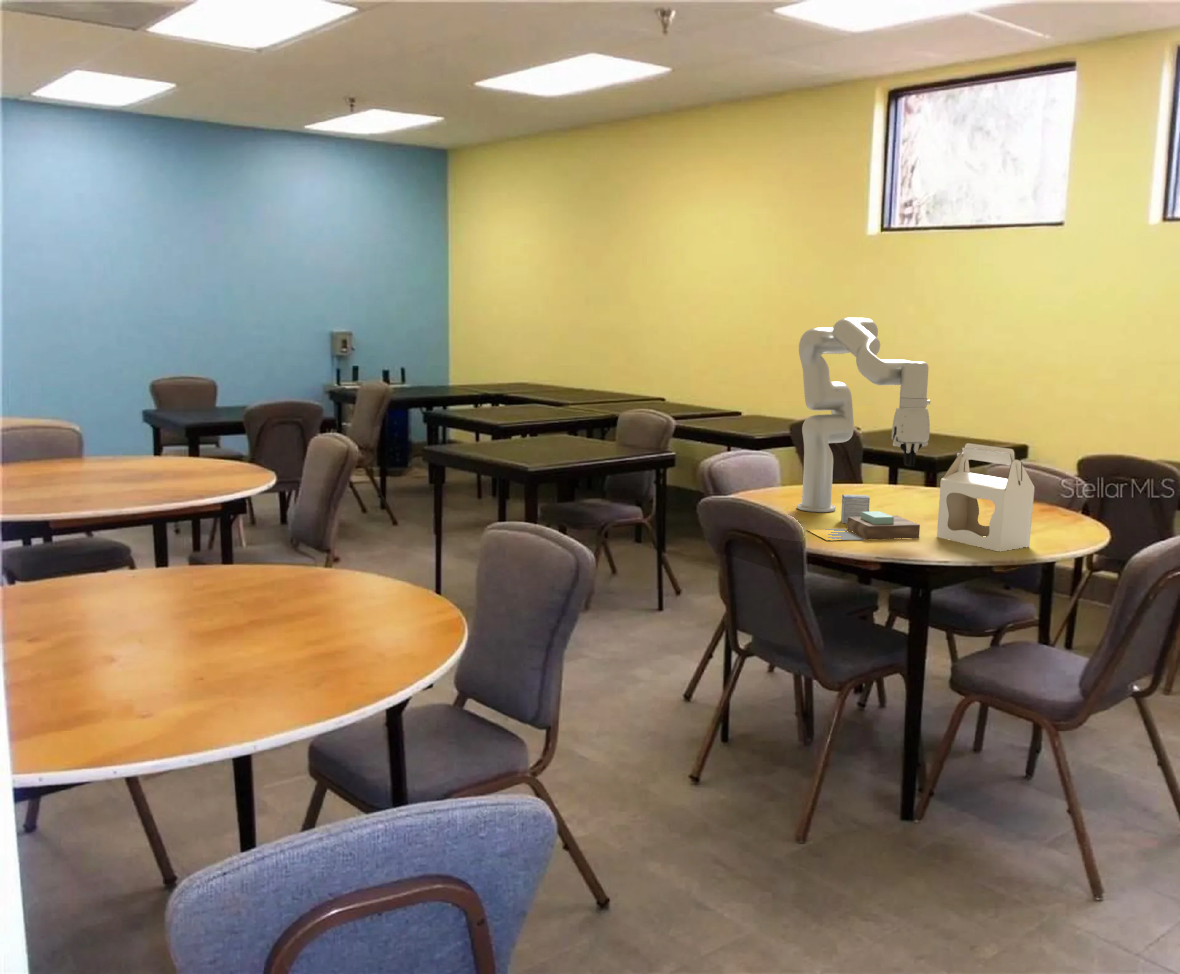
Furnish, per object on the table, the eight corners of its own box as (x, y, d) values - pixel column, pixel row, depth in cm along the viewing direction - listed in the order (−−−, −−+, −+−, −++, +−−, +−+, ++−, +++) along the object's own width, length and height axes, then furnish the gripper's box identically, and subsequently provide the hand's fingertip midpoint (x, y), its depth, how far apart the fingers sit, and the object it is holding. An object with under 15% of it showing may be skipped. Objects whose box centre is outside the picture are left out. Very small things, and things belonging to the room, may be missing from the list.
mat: (806, 530, 308) (806, 529, 308) (843, 529, 310) (843, 528, 310) (826, 541, 294) (826, 540, 293) (865, 540, 296) (865, 539, 296)
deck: (847, 529, 310) (847, 516, 309) (896, 528, 313) (897, 515, 312) (867, 539, 296) (868, 526, 296) (918, 538, 299) (919, 524, 299)
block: (860, 518, 307) (861, 511, 307) (879, 517, 309) (879, 511, 308) (874, 524, 299) (874, 517, 298) (893, 523, 300) (894, 517, 299)
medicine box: (866, 521, 323) (867, 494, 321) (868, 524, 318) (870, 497, 317) (840, 521, 324) (842, 494, 322) (842, 523, 319) (844, 496, 318)
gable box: (935, 537, 301) (942, 442, 297) (965, 532, 308) (972, 440, 304) (1000, 552, 283) (1008, 452, 278) (1030, 547, 290) (1039, 449, 285)
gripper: (929, 402, 304) (926, 463, 307) (883, 403, 302) (879, 464, 305) (942, 404, 297) (938, 467, 300) (895, 405, 294) (891, 468, 297)
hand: (909, 465), depth 302 cm, fingers closed
